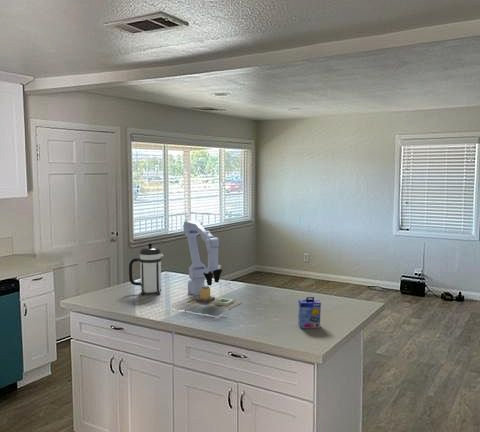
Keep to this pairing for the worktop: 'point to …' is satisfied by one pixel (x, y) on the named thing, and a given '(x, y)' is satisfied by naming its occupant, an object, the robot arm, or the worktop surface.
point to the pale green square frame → (224, 302)
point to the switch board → (216, 304)
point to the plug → (205, 292)
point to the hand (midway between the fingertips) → (213, 283)
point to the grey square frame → (205, 299)
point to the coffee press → (148, 270)
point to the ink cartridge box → (309, 313)
